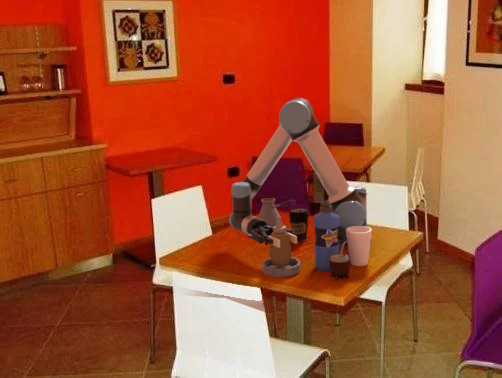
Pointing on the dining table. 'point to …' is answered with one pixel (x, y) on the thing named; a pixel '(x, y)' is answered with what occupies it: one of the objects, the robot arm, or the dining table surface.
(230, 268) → the dining table surface
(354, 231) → the foam cup
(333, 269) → the mate gourd
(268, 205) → the coffee pot
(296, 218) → the coffee cup
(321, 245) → the water bottle
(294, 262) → the dish
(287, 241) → the squeeze bottle
